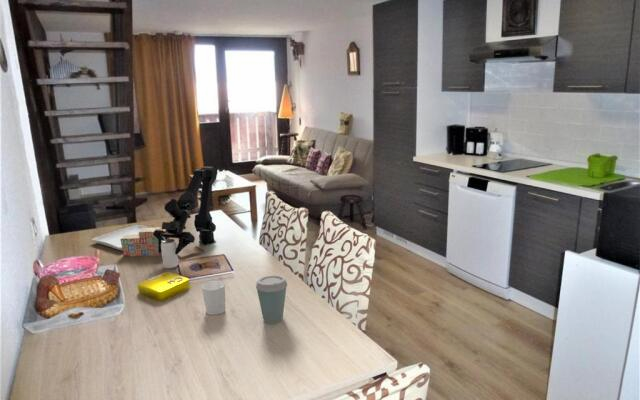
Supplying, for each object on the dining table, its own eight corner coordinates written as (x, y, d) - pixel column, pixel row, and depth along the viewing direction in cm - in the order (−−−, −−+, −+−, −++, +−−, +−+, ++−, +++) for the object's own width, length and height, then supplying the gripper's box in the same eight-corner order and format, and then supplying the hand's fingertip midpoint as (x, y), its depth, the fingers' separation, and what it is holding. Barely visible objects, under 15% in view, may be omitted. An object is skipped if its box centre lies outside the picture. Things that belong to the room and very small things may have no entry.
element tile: (168, 280, 192) (167, 269, 191) (192, 288, 183) (190, 277, 182) (137, 294, 180) (135, 283, 179) (160, 303, 172) (158, 291, 170)
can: (165, 263, 209) (162, 238, 206) (180, 262, 209) (176, 238, 206) (162, 269, 202) (158, 243, 199) (176, 268, 203) (173, 242, 200)
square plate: (137, 230, 260) (137, 223, 259) (167, 238, 245) (166, 231, 244) (91, 244, 239) (90, 237, 238) (121, 254, 224) (119, 246, 223)
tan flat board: (196, 248, 227) (196, 245, 226) (204, 252, 221) (204, 249, 221) (174, 254, 219) (173, 252, 219) (181, 259, 213) (181, 256, 213)
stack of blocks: (123, 256, 220) (119, 232, 216) (128, 252, 226) (124, 228, 222) (167, 255, 219) (164, 231, 216) (171, 250, 225) (168, 226, 222)
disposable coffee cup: (254, 315, 159) (251, 276, 155) (283, 308, 163) (281, 269, 159) (263, 330, 150) (260, 288, 146) (294, 322, 154) (291, 281, 150)
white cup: (231, 306, 166) (228, 281, 164) (219, 317, 159) (217, 291, 156) (212, 304, 169) (209, 279, 166) (200, 314, 162) (197, 288, 159)
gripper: (152, 212, 206) (139, 244, 199) (188, 215, 201) (176, 247, 193) (165, 224, 216) (153, 254, 208) (199, 226, 210) (189, 257, 203)
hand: (167, 253), depth 203 cm, fingers open, 8 cm apart
